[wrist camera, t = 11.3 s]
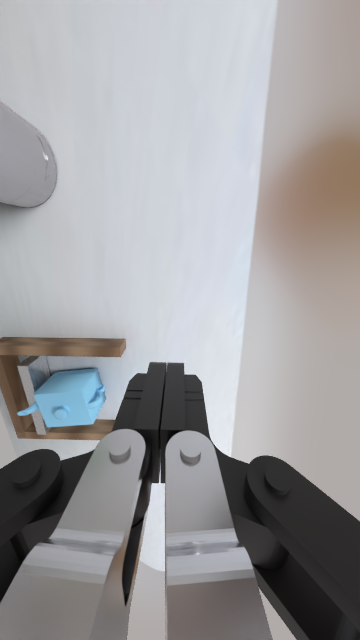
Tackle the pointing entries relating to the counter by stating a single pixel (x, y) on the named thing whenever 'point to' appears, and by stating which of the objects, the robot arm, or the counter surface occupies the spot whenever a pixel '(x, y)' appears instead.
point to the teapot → (69, 398)
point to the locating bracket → (5, 351)
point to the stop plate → (35, 385)
